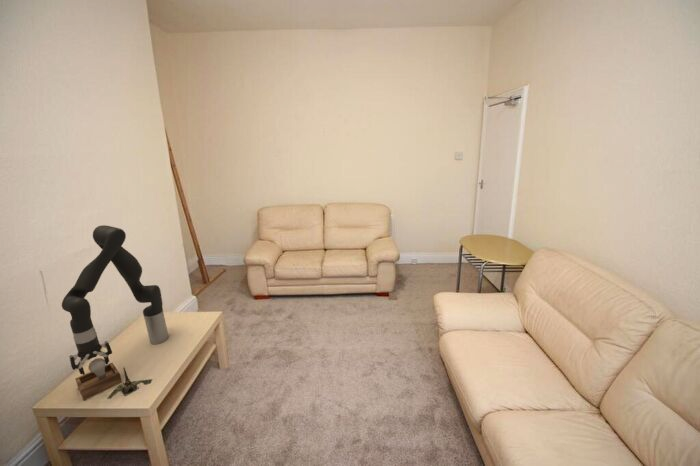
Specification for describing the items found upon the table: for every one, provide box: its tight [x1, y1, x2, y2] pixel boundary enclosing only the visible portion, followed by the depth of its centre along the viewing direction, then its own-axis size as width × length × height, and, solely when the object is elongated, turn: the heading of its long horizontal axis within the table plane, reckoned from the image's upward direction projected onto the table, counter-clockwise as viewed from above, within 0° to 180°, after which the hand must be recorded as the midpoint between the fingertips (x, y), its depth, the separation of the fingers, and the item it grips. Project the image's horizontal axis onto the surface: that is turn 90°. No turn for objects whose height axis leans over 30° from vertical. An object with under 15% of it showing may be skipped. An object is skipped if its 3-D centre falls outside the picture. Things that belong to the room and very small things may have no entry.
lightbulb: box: [88, 357, 106, 380], centre depth 142 cm, size 6×6×11 cm
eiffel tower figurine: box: [106, 366, 154, 400], centre depth 138 cm, size 15×10×13 cm
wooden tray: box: [75, 362, 123, 401], centre depth 142 cm, size 12×14×5 cm
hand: (95, 368), depth 141 cm, fingers open, 8 cm apart
